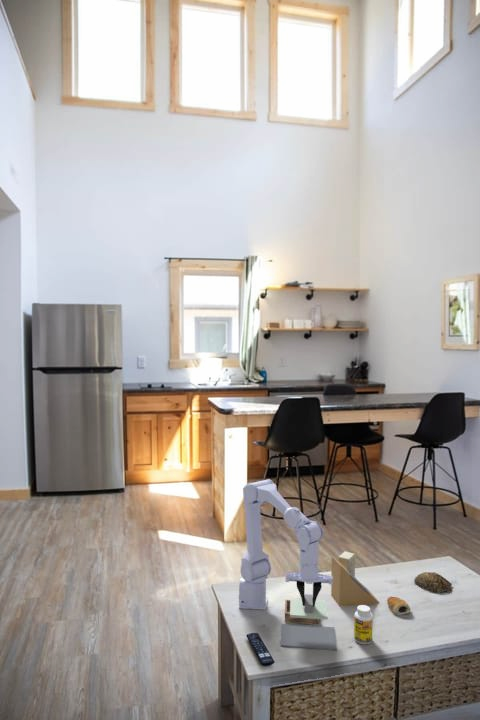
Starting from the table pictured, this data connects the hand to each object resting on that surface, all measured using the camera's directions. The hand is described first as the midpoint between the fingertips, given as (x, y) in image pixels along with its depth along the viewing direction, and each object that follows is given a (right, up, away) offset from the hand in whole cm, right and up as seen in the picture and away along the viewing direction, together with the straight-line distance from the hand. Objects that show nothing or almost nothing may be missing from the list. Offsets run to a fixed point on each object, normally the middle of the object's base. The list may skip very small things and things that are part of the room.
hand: (308, 604), depth 166 cm
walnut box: (-1, -10, +13) cm, 16 cm away
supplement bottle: (+17, -11, -1) cm, 20 cm away
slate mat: (0, -10, 0) cm, 10 cm away
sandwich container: (+20, -10, +25) cm, 33 cm away
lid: (0, -2, 0) cm, 2 cm away
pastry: (+33, -10, +18) cm, 39 cm away
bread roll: (+52, -10, +36) cm, 64 cm away
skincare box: (+19, -9, +34) cm, 40 cm away
